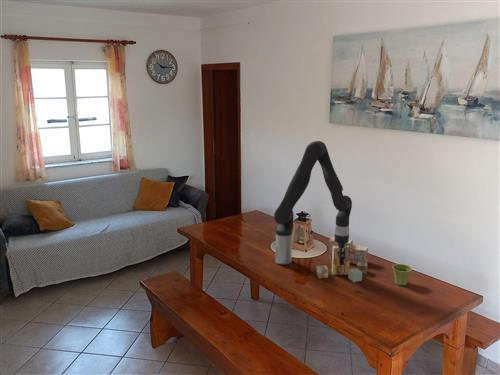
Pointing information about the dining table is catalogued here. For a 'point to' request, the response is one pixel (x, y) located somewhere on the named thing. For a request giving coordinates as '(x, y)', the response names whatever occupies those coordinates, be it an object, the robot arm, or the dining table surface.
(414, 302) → the dining table surface
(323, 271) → the birch cube
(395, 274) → the plant pot
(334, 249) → the candy box
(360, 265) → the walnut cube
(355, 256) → the stack of blocks
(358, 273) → the sage cube
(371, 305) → the dining table surface
